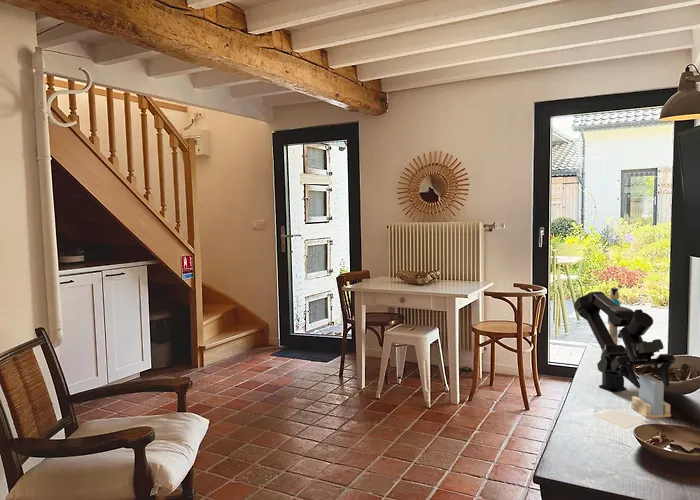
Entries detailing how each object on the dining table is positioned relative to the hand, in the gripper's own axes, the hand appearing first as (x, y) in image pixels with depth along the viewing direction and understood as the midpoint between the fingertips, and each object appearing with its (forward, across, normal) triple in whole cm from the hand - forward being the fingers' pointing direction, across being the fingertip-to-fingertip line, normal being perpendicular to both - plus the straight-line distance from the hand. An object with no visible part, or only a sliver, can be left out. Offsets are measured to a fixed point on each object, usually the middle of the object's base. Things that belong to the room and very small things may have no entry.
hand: (653, 387), depth 168 cm
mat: (+8, -12, +5) cm, 15 cm away
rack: (+5, 0, +7) cm, 9 cm away
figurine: (-34, +19, +47) cm, 61 cm away
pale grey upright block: (+5, 0, +6) cm, 8 cm away
